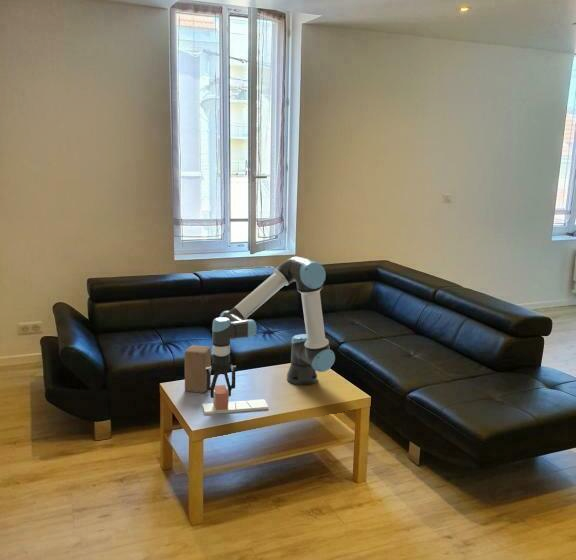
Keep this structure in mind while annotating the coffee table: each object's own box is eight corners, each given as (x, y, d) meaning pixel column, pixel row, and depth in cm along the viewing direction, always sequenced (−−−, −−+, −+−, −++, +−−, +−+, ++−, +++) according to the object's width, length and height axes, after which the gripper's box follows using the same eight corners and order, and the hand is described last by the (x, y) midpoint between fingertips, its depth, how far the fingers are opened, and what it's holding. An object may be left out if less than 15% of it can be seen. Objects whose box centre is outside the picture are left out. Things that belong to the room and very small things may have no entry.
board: (264, 401, 263) (264, 399, 262) (268, 409, 255) (268, 406, 255) (202, 406, 256) (202, 403, 255) (204, 414, 248) (204, 411, 248)
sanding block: (224, 401, 258) (224, 384, 257) (227, 410, 250) (228, 393, 248) (213, 402, 257) (213, 385, 255) (216, 411, 249) (216, 394, 247)
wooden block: (204, 393, 269) (204, 353, 264) (183, 391, 271) (183, 351, 266) (211, 385, 278) (211, 346, 274) (191, 383, 280) (191, 344, 276)
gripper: (240, 349, 254) (239, 398, 259) (199, 351, 249) (199, 401, 254) (243, 355, 247) (242, 405, 252) (200, 357, 242) (200, 409, 247)
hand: (220, 403), depth 253 cm, fingers closed on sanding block, 5 cm apart
